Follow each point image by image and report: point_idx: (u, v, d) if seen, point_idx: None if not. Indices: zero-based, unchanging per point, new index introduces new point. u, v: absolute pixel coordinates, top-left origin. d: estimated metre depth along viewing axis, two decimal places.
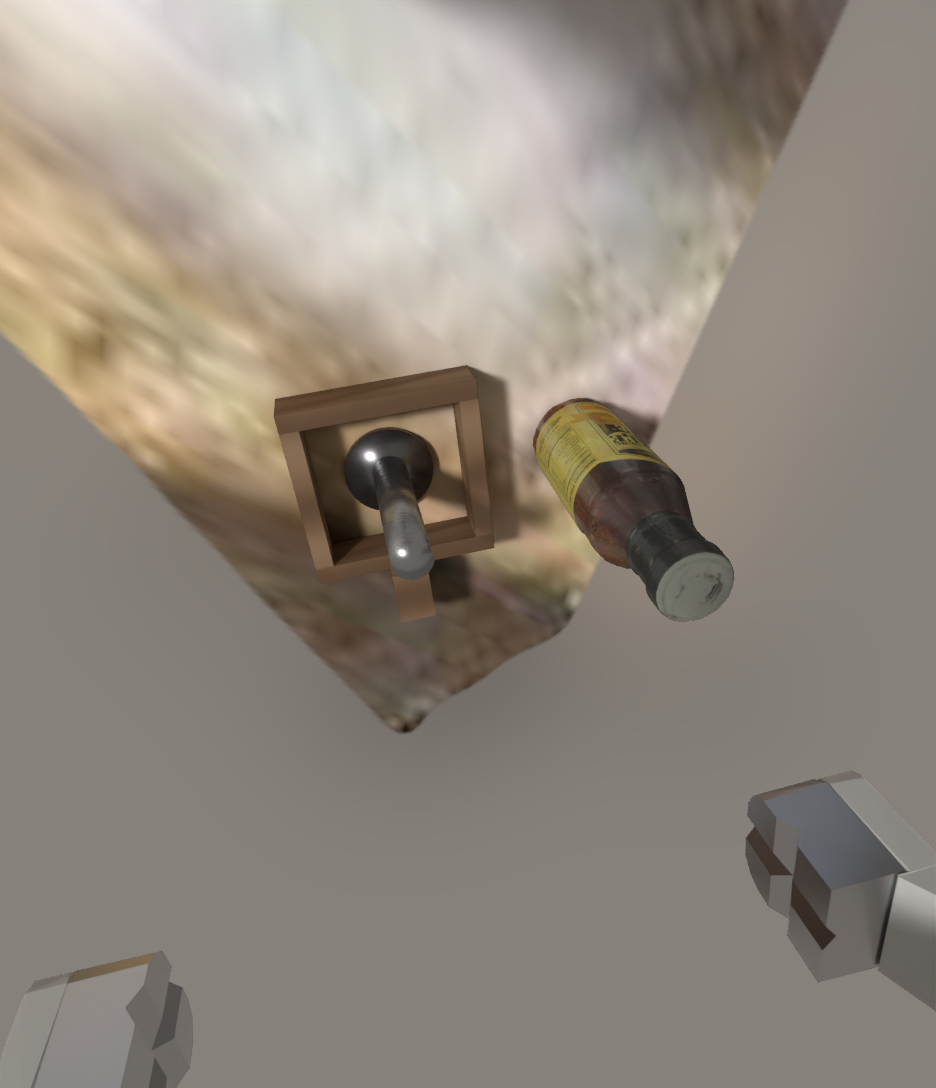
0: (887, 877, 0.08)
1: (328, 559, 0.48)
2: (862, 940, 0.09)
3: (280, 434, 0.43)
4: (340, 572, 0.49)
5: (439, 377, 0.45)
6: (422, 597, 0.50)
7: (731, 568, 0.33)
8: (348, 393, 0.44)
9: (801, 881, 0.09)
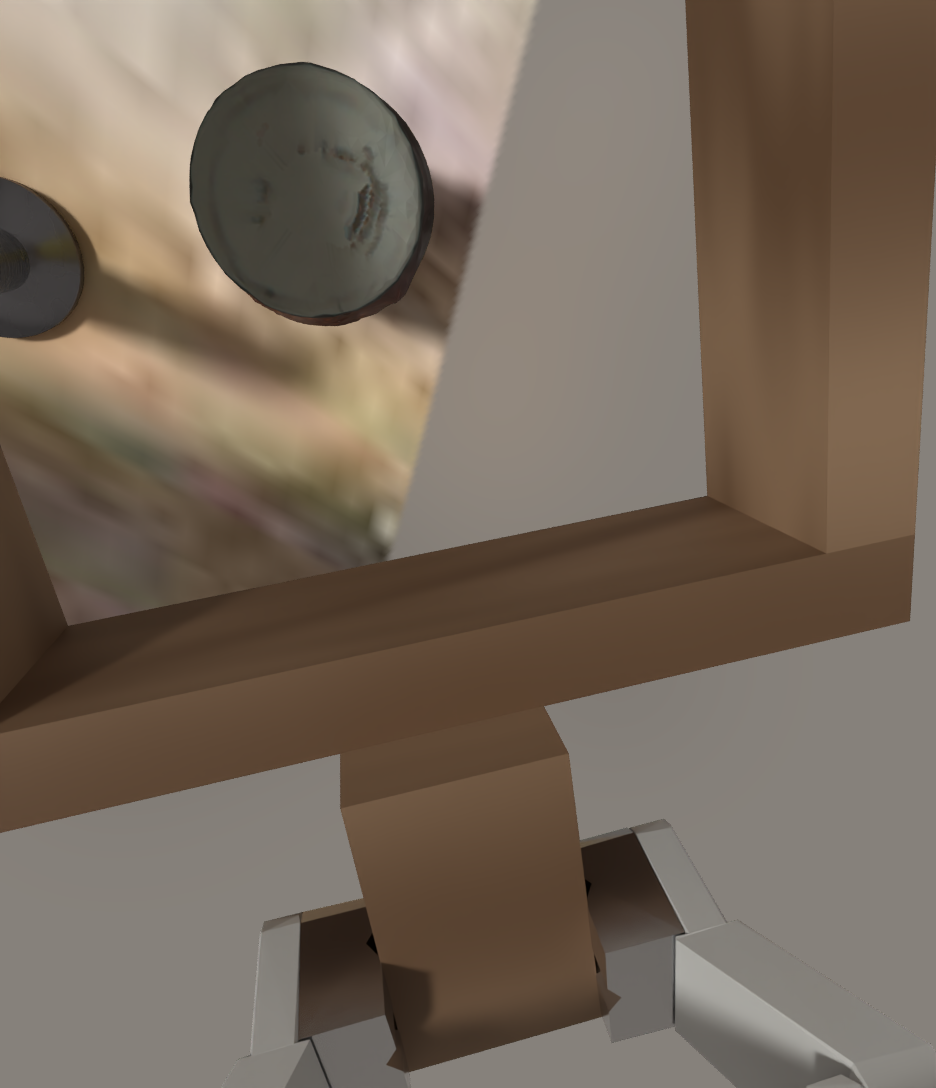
0: (667, 939, 0.08)
1: None
2: (652, 1001, 0.08)
3: None
4: (21, 781, 0.08)
5: None
6: (529, 925, 0.08)
7: (401, 135, 0.12)
8: None
9: (592, 939, 0.09)
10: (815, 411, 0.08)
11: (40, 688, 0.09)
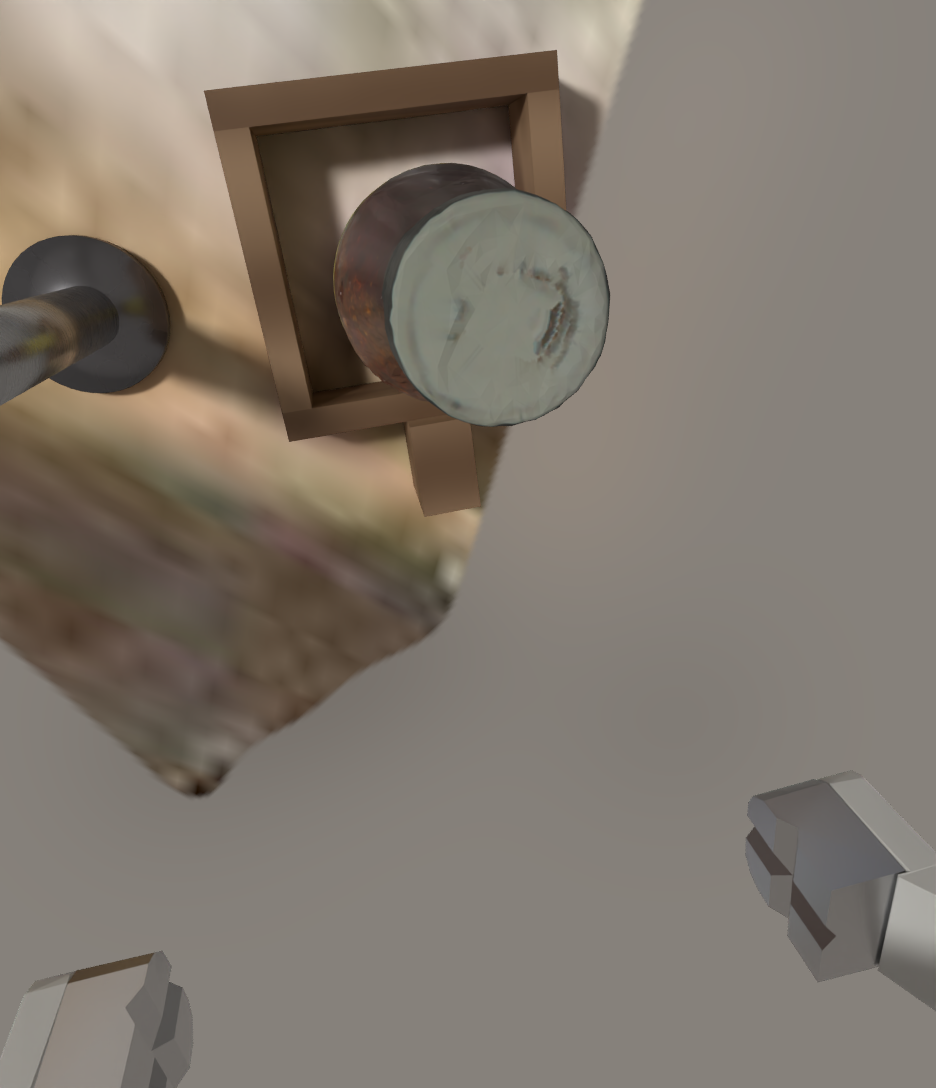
0: (887, 877, 0.08)
1: (303, 394, 0.29)
2: (862, 940, 0.09)
3: (216, 130, 0.24)
4: (323, 421, 0.29)
5: None
6: (459, 470, 0.30)
7: (596, 255, 0.12)
8: None
9: (801, 881, 0.09)
10: None
11: (321, 401, 0.30)
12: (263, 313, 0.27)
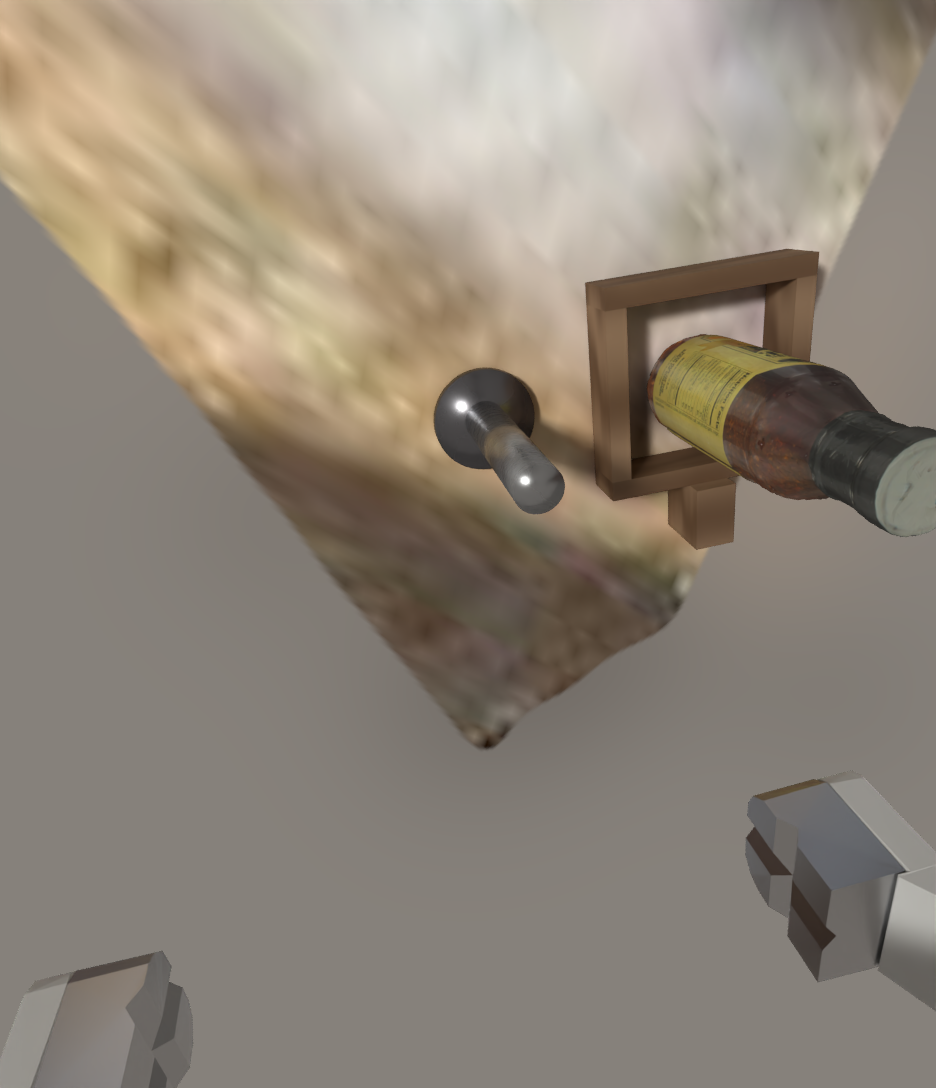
0: (887, 877, 0.08)
1: (627, 470, 0.42)
2: (862, 940, 0.09)
3: (607, 311, 0.38)
4: (636, 487, 0.43)
5: (768, 255, 0.40)
6: (723, 518, 0.44)
7: None
8: (671, 271, 0.40)
9: (801, 881, 0.09)
10: None
11: (631, 472, 0.44)
12: (613, 420, 0.41)
